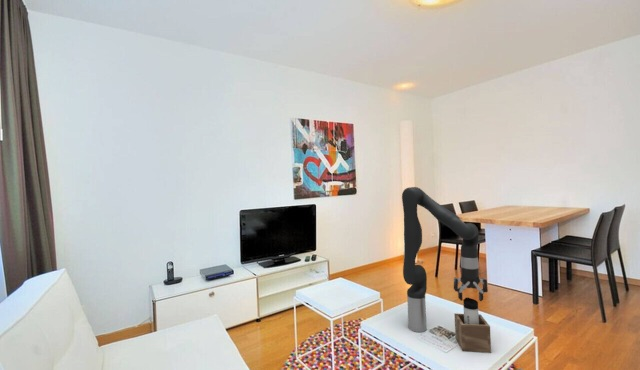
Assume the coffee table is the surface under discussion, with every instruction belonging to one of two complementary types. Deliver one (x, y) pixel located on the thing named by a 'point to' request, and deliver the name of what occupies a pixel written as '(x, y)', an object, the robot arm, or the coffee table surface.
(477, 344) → the wooden box
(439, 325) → the coffee table surface
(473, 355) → the coffee table surface
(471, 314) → the travel mug
